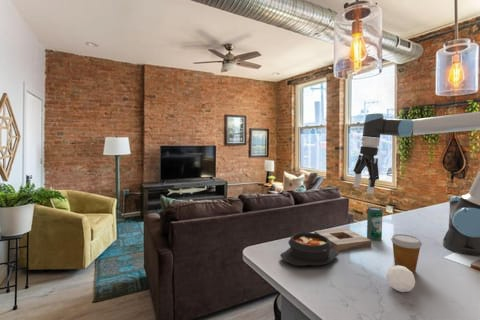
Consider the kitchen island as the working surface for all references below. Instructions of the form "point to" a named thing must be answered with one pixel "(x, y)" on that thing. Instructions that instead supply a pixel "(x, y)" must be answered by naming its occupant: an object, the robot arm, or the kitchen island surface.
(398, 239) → the disposable coffee cup
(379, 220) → the can
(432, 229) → the kitchen island surface
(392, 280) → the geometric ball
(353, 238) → the frame
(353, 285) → the kitchen island surface
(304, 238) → the casserole
